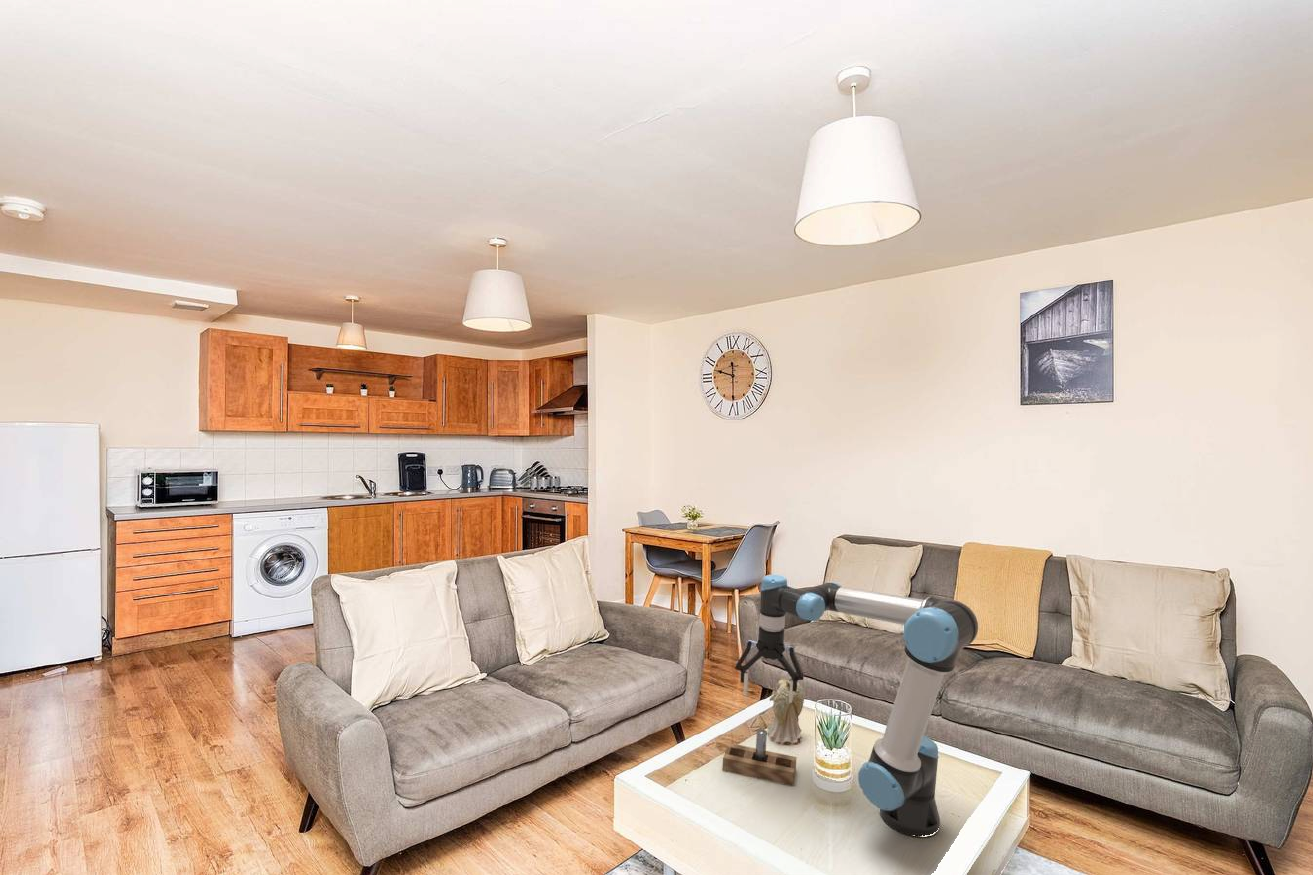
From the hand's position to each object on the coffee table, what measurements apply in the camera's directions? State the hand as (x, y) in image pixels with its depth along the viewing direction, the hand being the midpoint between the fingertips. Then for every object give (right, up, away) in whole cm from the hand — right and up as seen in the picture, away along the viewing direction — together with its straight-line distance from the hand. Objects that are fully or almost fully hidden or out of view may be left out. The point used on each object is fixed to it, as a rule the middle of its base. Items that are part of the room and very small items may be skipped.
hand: (767, 697), depth 194 cm
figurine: (+9, -23, +22) cm, 33 cm away
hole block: (-2, -23, +2) cm, 23 cm away
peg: (-2, -23, +2) cm, 23 cm away
